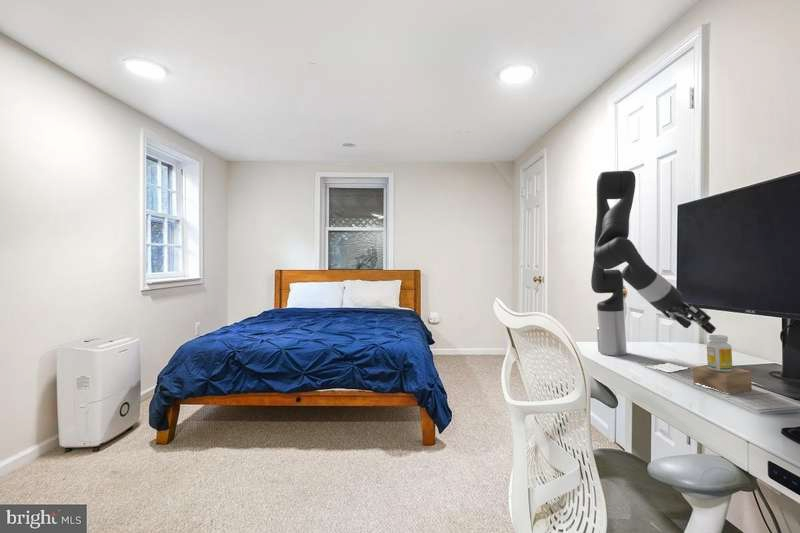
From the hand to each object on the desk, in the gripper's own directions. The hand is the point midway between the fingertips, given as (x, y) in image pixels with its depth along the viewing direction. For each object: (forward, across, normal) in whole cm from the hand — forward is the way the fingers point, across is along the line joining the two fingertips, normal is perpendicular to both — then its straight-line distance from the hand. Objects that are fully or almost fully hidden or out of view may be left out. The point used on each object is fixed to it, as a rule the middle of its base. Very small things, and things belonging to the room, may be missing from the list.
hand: (700, 328), depth 105 cm
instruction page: (+15, +19, +10) cm, 26 cm away
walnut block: (+16, 0, +8) cm, 18 cm away
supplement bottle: (+12, 0, +5) cm, 13 cm away
